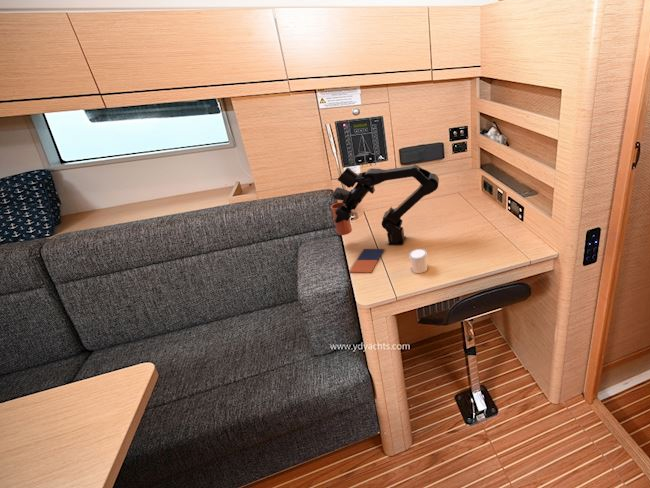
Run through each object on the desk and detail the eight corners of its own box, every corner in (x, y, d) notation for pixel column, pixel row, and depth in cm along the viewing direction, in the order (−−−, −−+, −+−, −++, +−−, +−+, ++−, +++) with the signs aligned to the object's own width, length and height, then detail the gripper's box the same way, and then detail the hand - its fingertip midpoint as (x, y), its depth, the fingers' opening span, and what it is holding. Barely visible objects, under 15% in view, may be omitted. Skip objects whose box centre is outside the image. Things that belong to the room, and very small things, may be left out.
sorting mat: (384, 249, 145) (383, 249, 145) (371, 272, 130) (370, 272, 130) (364, 249, 146) (364, 249, 146) (349, 272, 132) (349, 271, 131)
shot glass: (421, 261, 134) (419, 246, 132) (432, 267, 130) (430, 252, 127) (407, 269, 130) (405, 254, 127) (419, 276, 125) (416, 260, 123)
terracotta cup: (351, 226, 153) (345, 200, 148) (352, 233, 147) (346, 206, 142) (337, 230, 151) (330, 204, 146) (337, 236, 145) (330, 209, 140)
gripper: (348, 174, 148) (330, 199, 153) (334, 191, 131) (314, 218, 136) (369, 189, 151) (350, 213, 156) (358, 207, 134) (337, 233, 139)
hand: (338, 218), depth 146 cm, fingers closed on terracotta cup, 6 cm apart
